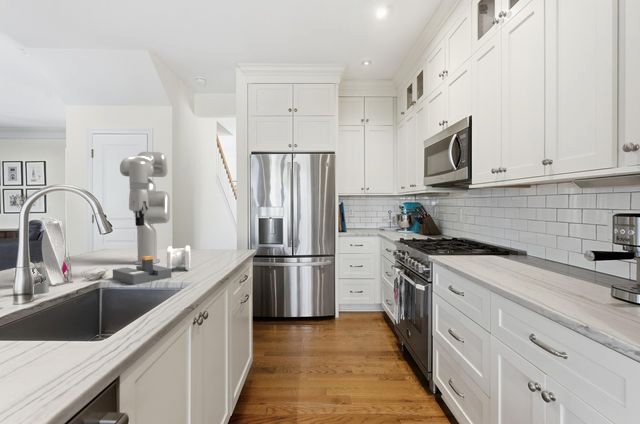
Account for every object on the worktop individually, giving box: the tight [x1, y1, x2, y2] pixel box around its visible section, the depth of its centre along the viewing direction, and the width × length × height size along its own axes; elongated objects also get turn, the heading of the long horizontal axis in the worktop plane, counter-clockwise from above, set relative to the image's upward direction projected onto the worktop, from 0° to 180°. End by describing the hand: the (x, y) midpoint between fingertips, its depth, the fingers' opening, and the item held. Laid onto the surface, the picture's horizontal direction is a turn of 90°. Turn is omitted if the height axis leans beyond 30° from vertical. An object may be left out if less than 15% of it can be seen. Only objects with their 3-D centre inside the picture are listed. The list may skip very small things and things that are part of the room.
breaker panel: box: [112, 264, 172, 286], centre depth 142 cm, size 20×16×4 cm
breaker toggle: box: [141, 256, 154, 275], centre depth 139 cm, size 3×3×8 cm
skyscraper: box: [40, 216, 74, 287], centre depth 132 cm, size 8×8×28 cm
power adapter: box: [30, 260, 50, 295], centre depth 119 cm, size 3×5×12 cm, turn 108°
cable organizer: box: [166, 244, 192, 271], centre depth 161 cm, size 15×11×12 cm
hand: (139, 225), depth 151 cm, fingers closed
